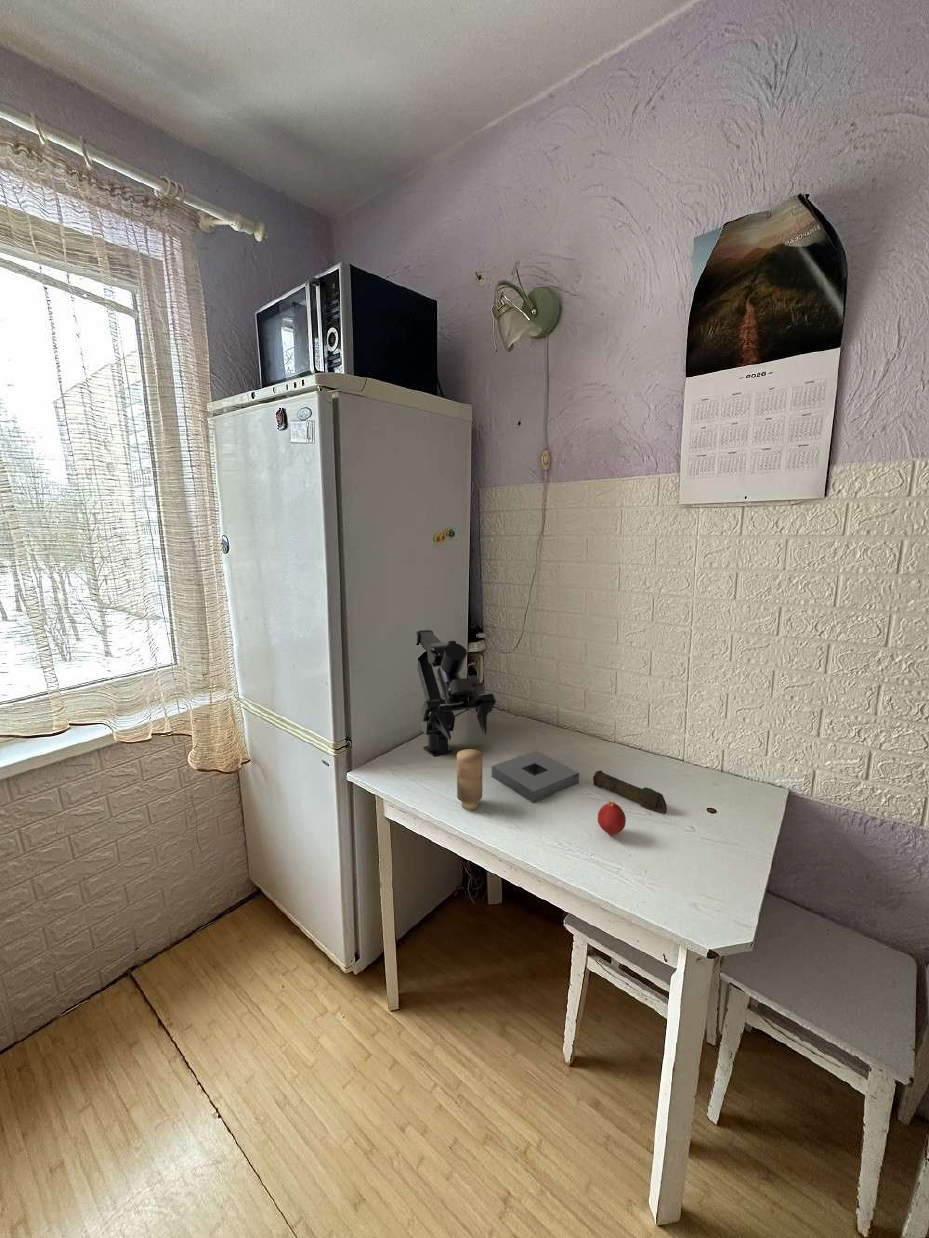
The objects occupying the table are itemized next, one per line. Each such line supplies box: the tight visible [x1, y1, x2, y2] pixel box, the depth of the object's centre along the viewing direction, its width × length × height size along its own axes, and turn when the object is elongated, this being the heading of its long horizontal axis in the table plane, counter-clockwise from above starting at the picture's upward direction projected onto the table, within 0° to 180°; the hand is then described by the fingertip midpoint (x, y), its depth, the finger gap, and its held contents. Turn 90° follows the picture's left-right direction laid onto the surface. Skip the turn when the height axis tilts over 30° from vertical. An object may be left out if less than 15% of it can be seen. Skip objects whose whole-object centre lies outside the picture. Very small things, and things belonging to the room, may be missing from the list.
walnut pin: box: [456, 748, 483, 811], centre depth 119 cm, size 6×6×13 cm
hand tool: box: [592, 769, 668, 815], centre depth 122 cm, size 19×4×5 cm, turn 39°
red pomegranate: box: [597, 800, 627, 836], centre depth 108 cm, size 6×6×8 cm
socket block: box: [491, 750, 580, 804], centre depth 131 cm, size 16×16×3 cm
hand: (467, 736), depth 123 cm, fingers open, 9 cm apart
